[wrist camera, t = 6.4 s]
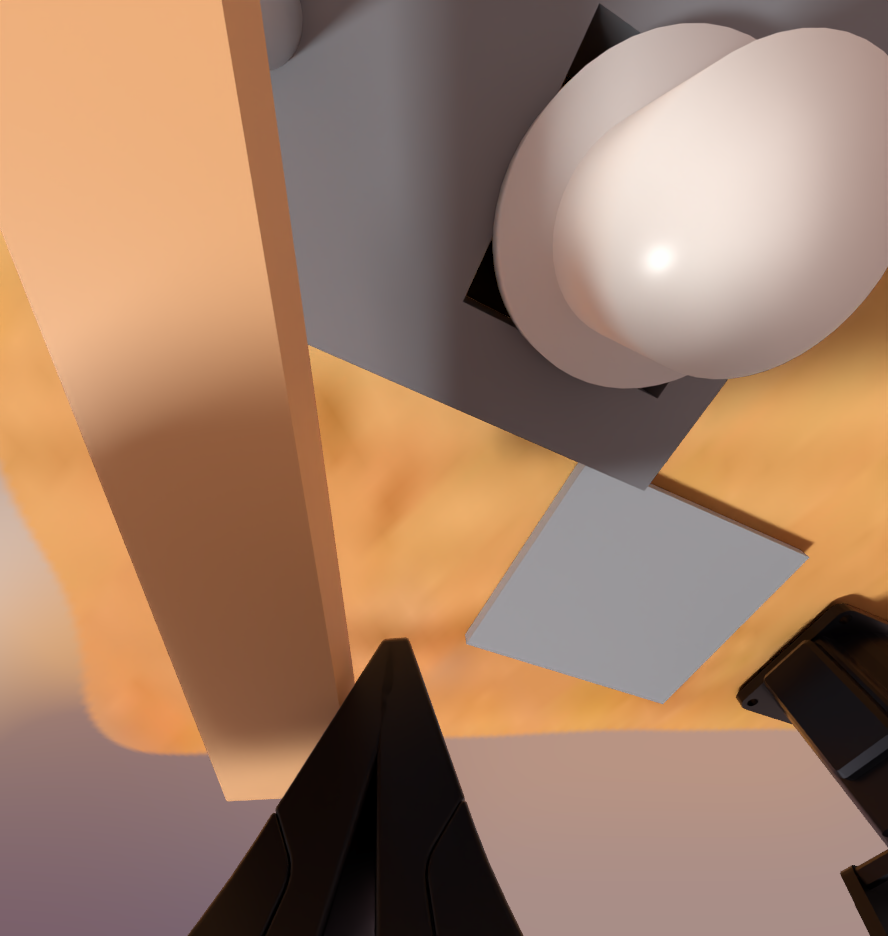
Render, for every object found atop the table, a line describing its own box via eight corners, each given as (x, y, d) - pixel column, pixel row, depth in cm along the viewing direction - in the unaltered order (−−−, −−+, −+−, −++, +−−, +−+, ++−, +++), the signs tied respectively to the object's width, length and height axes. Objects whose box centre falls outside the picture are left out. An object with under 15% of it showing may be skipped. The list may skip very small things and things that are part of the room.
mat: (799, 549, 17) (809, 557, 17) (657, 694, 21) (662, 704, 20) (583, 454, 15) (589, 460, 15) (465, 634, 19) (466, 643, 18)
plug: (745, 175, 12) (1119, 95, 5) (613, 381, 14) (769, 491, 8) (549, 43, 10) (746, -270, 4) (439, 295, 13) (457, 344, 6)
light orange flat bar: (366, 733, 10) (360, 794, 9) (243, 738, 10) (221, 801, 8) (203, -505, 3) (95, -874, 2) (-171, -524, 3) (-479, -925, 2)
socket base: (831, 109, 11) (1364, -68, 5) (604, 447, 15) (736, 592, 9) (326, -279, 8) (8, -2009, 2) (206, 266, 12) (-28, 290, 6)
